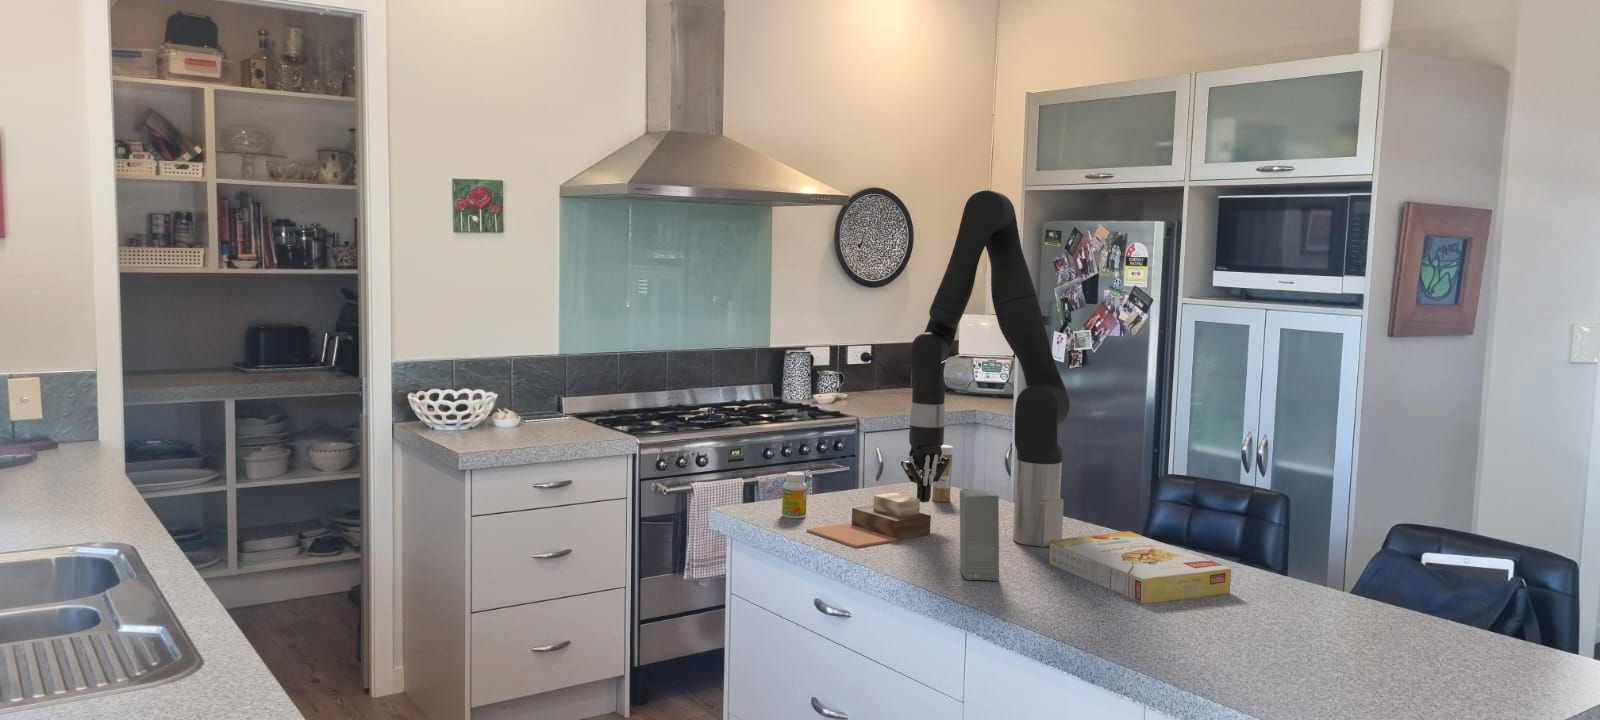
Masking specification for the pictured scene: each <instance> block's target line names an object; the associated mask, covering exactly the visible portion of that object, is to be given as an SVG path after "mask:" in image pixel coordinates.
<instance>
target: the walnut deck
mask: <svg viewBox="0 0 1600 720" xmlns="http://www.w3.org/2000/svg"><path fill="white" fill-rule="evenodd" d="M931 521H932V515H929V514H926V513H922V512H919V513H918V514H911V515H904V516H896V515H893V514H889V513H886V512H882V511H879V510H875V509H874V504H873V505H872V504H871V505H866V506H865V505H863V506H857V507H852V508H851V525H854V526H857V527H860V528H864V529H867V530H870V531H873V532H876V533H880V534H883V535H886V536H889V537H892V538H896V539H897V540H903V539H909V538H916V537H922V536H926V535H927V536H928V535H931V524H932V523H931Z"/></svg>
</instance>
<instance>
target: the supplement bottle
mask: <svg viewBox="0 0 1600 720" xmlns="http://www.w3.org/2000/svg"><path fill="white" fill-rule="evenodd" d="M785 474H786V482H783V485H782V502H781V505H782V506H781V515H782V517H783V518H786V519H793V520H794V519H798V520H799V519H804V518H806V515H807V500H808V496H807V495H808V486H807V484H806V483H805V482H804V480H805V473H804V472H801V471H788V472H786V473H785Z"/></svg>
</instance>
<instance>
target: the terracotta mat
mask: <svg viewBox="0 0 1600 720" xmlns="http://www.w3.org/2000/svg"><path fill="white" fill-rule="evenodd" d="M806 532H808V533H810V534H813V535H817V536H819V537H822V538H825V539H828V540H832V541H834V542H837V543H840V544H843V545H846V546H848V547H849V546H850V547H853V548H855V549H859V548H864V547H865V548H866V547H870V546H877V545H882V544H888V543H894V542H897V539H896V538H892V537H889V536H886V535H883V534H880V533H876V532H873V531H870V530H867V529H864V528H860V527H857V526H854V525H852V523H851V524H850V523H846V522H845V523H840V524H833V525H828V526H826V525H825V526H820V527H813V528H807V529H806Z"/></svg>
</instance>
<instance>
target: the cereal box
mask: <svg viewBox="0 0 1600 720" xmlns="http://www.w3.org/2000/svg"><path fill="white" fill-rule="evenodd" d="M1048 548H1049V549H1048V564H1050V565H1051V566H1054V567H1056V568H1059V569H1061V570H1064V571H1065V572H1068V573H1071V574H1072V575H1076V576H1078V577H1081V578H1082V579H1085V580H1087V581H1090V582H1092V583H1095V584H1096V585H1100V586H1102V587H1104V588H1106V589H1108V590H1111V591H1113V592H1116V593H1118V594H1121V595H1123V596H1126V597H1128V598H1130V599H1132V600H1135V601H1138V602H1140V603H1142V604H1150V603H1159V602H1168V601H1175V600H1176V601H1178V600H1186V599H1195V598H1201V597H1202V598H1203V597H1211V596H1218V595H1226V594H1229V593H1231V582H1232V581H1231V580H1232V579H1231V578H1232V577H1231V576H1232V573H1231V572H1232V568H1231V567H1229V566H1225V565H1223V564H1220V563H1218V562H1215V561H1213V560H1209V559H1207V558H1204V557H1201V556H1199V555H1197V554H1193V553H1190V552H1188V551H1185V550H1183V549H1180V548H1177V547H1175V546H1174V547H1173V546H1171V545H1169V544H1166V543H1163V542H1160V541H1157V540H1155V539H1152V538H1149V537H1147V536H1143V535H1141V534H1137V533H1135V532H1132V531H1130V530H1127V531H1126V530H1125V531H1120V532H1110V533H1102V534H1094V535H1085V536H1077V537H1068V538H1062V539H1058V540H1051V541H1050V542H1049V546H1048Z"/></svg>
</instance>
